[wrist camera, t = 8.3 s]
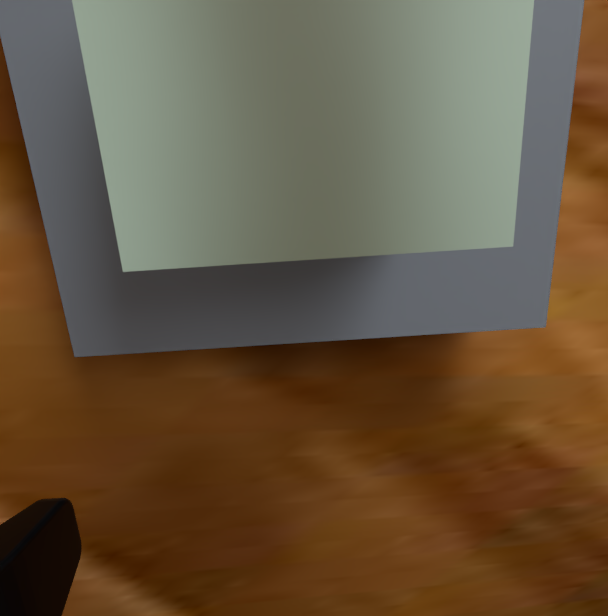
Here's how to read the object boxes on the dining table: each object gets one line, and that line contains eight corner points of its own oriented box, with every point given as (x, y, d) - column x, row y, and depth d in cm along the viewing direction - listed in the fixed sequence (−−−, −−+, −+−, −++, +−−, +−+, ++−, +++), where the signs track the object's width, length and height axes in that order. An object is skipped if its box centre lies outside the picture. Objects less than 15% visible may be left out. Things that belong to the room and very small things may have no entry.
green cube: (420, -66, 11) (557, -275, 6) (415, 200, 13) (512, 246, 8) (158, -51, 11) (24, -248, 5) (193, 214, 13) (122, 271, 7)
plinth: (528, -188, 14) (620, -312, 10) (492, 288, 18) (545, 327, 15) (27, -164, 13) (-73, -281, 10) (118, 311, 18) (74, 357, 14)
